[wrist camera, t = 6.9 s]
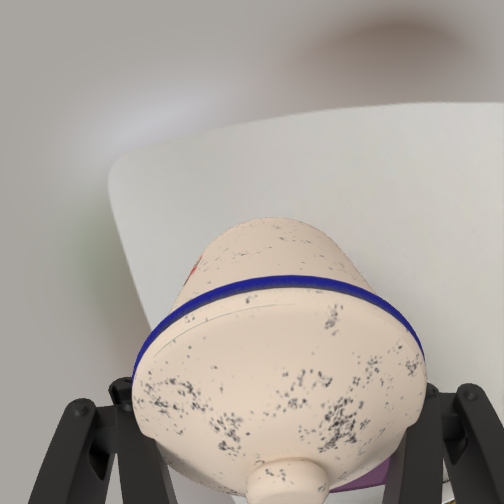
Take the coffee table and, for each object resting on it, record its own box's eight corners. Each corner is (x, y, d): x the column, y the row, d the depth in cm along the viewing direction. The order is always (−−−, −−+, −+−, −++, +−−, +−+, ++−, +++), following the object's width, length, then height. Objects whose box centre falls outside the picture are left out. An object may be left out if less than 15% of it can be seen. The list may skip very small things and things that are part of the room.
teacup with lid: (166, 229, 16) (19, 375, 5) (347, 196, 15) (516, 298, 4) (221, 407, 19) (200, 570, 8) (360, 385, 19) (414, 542, 7)
